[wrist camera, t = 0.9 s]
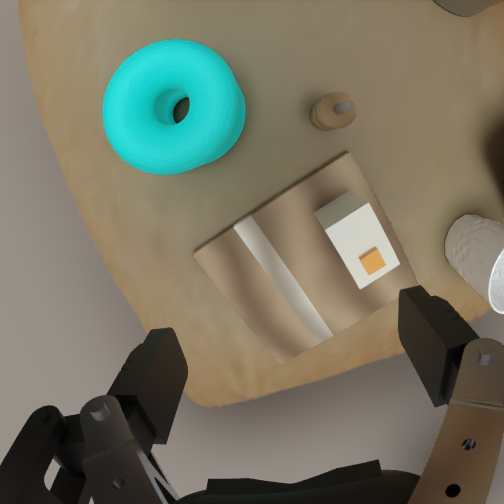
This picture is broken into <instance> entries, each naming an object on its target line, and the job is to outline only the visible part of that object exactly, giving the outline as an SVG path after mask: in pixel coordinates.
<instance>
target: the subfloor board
mask: <svg viewBox="0 0 504 504" xmlns="http://www.w3.org/2000/svg"><path fill="white" fill-rule="evenodd" d="M349 190H350V191H351V192H353V193H355V194H356V195H358V196H359V197H361V198H363V199H364V200H366V201H367V202H369V204H370V206H371V208H372V209H373V211H374V213H375V215H376V217H377V219H378V221H379V223H380V224H381V226H382V228H383V230H384V232H385V234H386V236H387V238H388V240H389V242H390V244H391V246H392V248H393V250H394V252H395V254H396V256H397V258H398V260H399V263H400V265H398V266H397V267H395V268H393V269H392V270H390V271H389V272H387V273H386V274H384V275H383V276H381V277H379V278H378V279H376V280H375V281H373V282H372V283H370V284H368V285H367V286H365V287H363V288H362V289H359V287H358V285H357V284H356V282H355V280H354V278H353V277H352V275H351V273H350V272H349V270H348V268H347V267H346V265H345V263H344V262H343V260H342V258H341V256H340V255H339V253H338V251H337V250H336V248H335V247H334V245H333V243H332V242H331V240H330V238H329V237H328V235H327V233H326V232H325V230H324V229H323V227H322V225H321V224H320V222H319V221H318V219H317V217H316V216H315V214H314V212H316V211H317V210H319V209H320V208H322V207H324V206H325V205H327V204H328V203H330V202H332V201H333V200H335V199H336V198H338V197H339V196H341V195H343V194H344V193H346V192H347V191H349ZM192 255H193V257H194V258H195V259H196V261H197V262H198V263H199V265H200V266H201V267H202V268H203V270H204V271H205V272H206V274H207V275H208V276H209V277H210V279H211V280H212V281H213V283H214V284H215V285H216V286H217V288H218V289H219V290H220V291H221V293H222V294H223V295H224V296H225V298H226V299H227V300H228V302H229V303H230V304H231V305H232V307H233V308H234V309H235V310H236V311H237V313H238V314H239V315H240V316H241V318H242V319H243V320H244V321H245V323H246V324H247V325H248V326H249V328H250V329H251V330H252V331H253V332H254V334H255V335H256V336H257V337H258V338H259V340H260V341H261V342H262V343H263V345H264V346H265V347H266V348H267V349H268V351H269V352H270V353H271V354H272V355H273V356H274V358H275V359H276V360H277V361H278V362H279V364H281V363H283V362H285V361H287V360H289V359H291V358H293V357H295V356H297V355H299V354H300V353H302V352H304V351H306V350H308V349H310V348H312V347H314V346H316V345H317V344H319V343H321V342H323V341H325V340H327V339H328V338H330V337H332V336H334V335H336V334H337V333H339V332H341V331H343V330H345V329H346V328H348V327H350V326H351V325H353V324H355V323H357V322H358V321H360V320H362V319H363V318H365V317H367V316H368V315H370V314H372V313H373V312H375V311H377V310H378V309H380V308H382V307H383V306H385V305H386V304H388V303H390V302H391V301H393V300H394V299H396V298H397V297H399V291H400V290H401V289H405V288H409V287H414V286H416V285H417V284H418V282H417V280H416V277H415V275H414V273H413V271H412V268H411V266H410V264H409V262H408V259H407V257H406V255H405V253H404V251H403V249H402V247H401V244H400V242H399V240H398V238H397V236H396V234H395V232H394V230H393V228H392V226H391V224H390V222H389V220H388V218H387V216H386V214H385V212H384V210H383V209H382V207H381V205H380V203H379V201H378V199H377V197H376V195H375V194H374V192H373V190H372V188H371V186H370V185H369V183H368V181H367V179H366V177H365V176H364V174H363V172H362V170H361V169H360V167H359V165H358V164H357V162H356V160H355V159H354V157H353V155H352V154H351V152H348V151H347V152H345V153H344V154H342V155H341V156H339V157H337V158H336V159H334V160H333V161H331V162H329V163H328V164H326V165H325V166H323V167H321V168H320V169H318V170H317V171H315V172H314V173H312V174H310V175H309V176H307V177H306V178H304V179H303V180H301V181H299V182H298V183H296V184H295V185H293V186H292V187H290V188H289V189H287V190H285V191H284V192H282V193H281V194H279V195H278V196H276V197H275V198H273V199H272V200H270V201H269V202H267V203H266V204H264V205H262V206H261V207H259V208H258V209H256V210H255V211H253V212H252V213H250V214H249V215H247V216H246V217H244V218H243V219H241V220H240V221H238V222H237V223H235V224H234V225H232V226H231V227H229V228H228V229H226V230H225V231H223V232H222V233H220V234H219V235H217V236H216V237H214V238H213V239H211V240H210V241H209V242H207V243H206V244H204V245H203V246H201V247H200V248H198V249H197V250H195V251H194V253H193V254H192Z"/></svg>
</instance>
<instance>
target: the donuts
mask: <svg viewBox="0 0 504 504" xmlns="http://www.w3.org/2000/svg"><path fill="white" fill-rule="evenodd" d="M185 97H188V98H189V100H190V108H189V111H188V114H187V115H186V117H185V118H184V119H183V120H182V121H181V122H179V123H176V122H175V120H174V117H173V110H174V107H175V105H176V104H177V103H178V102H179V101H180V100H181V99H183V98H185ZM102 111H103V124H104V129H105V132H106V135H107V138H108V140H109V142H110V144H111V146H112V147H113V149H114V150H115V151H116V153H117V154H118V155H119V156H120V157H121V158H122V159H123V160H124V161H126V162H127V163H128V164H130V165H131V166H133V167H135V168H137V169H139V170H142V171H144V172H147V173H151V174H158V175H173V174H179V173H183V172H186V171H189V170H192V169H194V168H197V167H199V166H201V165H205V164H208V163H210V162H213V161H215V160H217V159H218V158H220V157H222V156H223V155H224V154H226V153H227V152H228V151H229V150H230V149H231V148H232V147H233V146H234V144H235V143H236V142H237V140H238V138H239V137H240V135H241V132H242V130H243V127H244V124H245V118H246V104H245V99H244V96H243V93H242V90H241V88H240V87H239V85H238V83H237V82H236V79H235V76H234V74H233V72H232V70H231V69H230V67H229V66H228V64H227V63H226V62H225V60H224V59H223V58H222V57H221V56H220V55H219V54H218V53H216V52H215V51H214V50H212V49H211V48H209V47H207V46H205V45H203V44H200V43H198V42H194V41H190V40H184V39H169V40H162V41H158V42H155V43H152V44H149V45H147V46H145V47H143V48H141V49H139V50H138V51H136V52H135V53H133V54H132V55H131V56H129V57H128V58H127V59H126V60H125V61H124V62H123V63H122V64H121V65H120V66H119V68H118V69H117V70H116V72H115V73H114V75H113V76H112V78H111V80H110V82H109V84H108V86H107V89H106V92H105V96H104V100H103V109H102Z"/></svg>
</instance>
